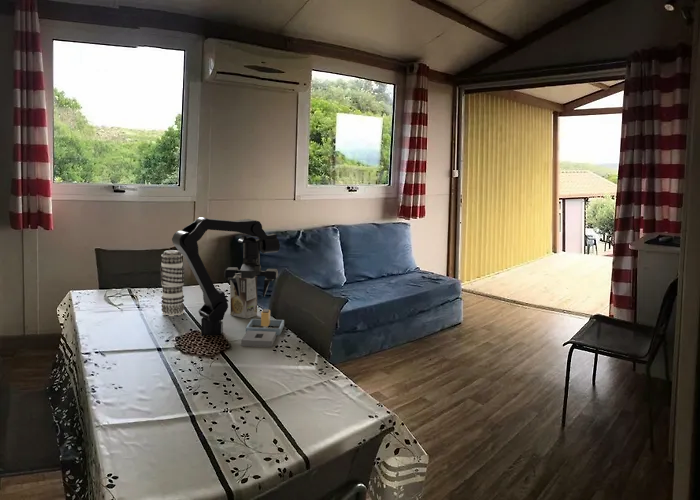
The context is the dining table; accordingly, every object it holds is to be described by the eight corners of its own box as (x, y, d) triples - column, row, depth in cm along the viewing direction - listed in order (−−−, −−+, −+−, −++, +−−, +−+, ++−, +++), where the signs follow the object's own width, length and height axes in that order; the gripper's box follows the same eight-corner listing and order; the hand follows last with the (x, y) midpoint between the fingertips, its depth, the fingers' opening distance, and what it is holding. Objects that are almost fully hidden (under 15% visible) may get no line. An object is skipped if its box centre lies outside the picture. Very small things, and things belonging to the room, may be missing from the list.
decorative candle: (156, 315, 210) (154, 252, 206) (167, 309, 219) (166, 248, 215) (178, 317, 209) (177, 253, 205) (189, 311, 218) (188, 250, 214)
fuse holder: (241, 348, 177) (241, 340, 177) (247, 338, 187) (247, 330, 187) (271, 349, 177) (271, 341, 177) (276, 339, 187) (276, 331, 187)
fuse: (261, 331, 193) (261, 311, 192) (263, 328, 197) (263, 308, 196) (268, 332, 193) (268, 312, 192) (270, 328, 197) (270, 308, 196)
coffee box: (257, 315, 215) (258, 275, 213) (246, 319, 210) (246, 278, 207) (241, 311, 220) (241, 272, 218) (229, 314, 215) (229, 275, 212)
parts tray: (245, 336, 190) (245, 327, 189) (251, 326, 201) (251, 318, 200) (279, 337, 190) (280, 329, 189) (284, 327, 201) (284, 320, 200)
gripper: (220, 257, 187) (220, 300, 189) (274, 259, 187) (273, 302, 189) (227, 251, 198) (227, 293, 200) (278, 253, 198) (278, 295, 200)
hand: (251, 296), depth 197 cm, fingers open, 9 cm apart
